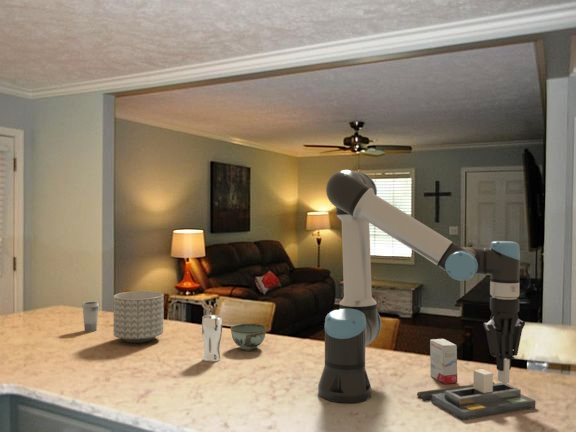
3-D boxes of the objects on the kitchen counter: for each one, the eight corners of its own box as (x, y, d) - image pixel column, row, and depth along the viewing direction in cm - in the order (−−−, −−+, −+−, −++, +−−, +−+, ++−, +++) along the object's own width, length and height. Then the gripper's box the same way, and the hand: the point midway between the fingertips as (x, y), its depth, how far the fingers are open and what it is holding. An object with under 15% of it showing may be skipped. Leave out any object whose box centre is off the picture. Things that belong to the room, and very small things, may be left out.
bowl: (273, 347, 196) (273, 326, 196) (252, 355, 185) (252, 333, 185) (244, 342, 204) (245, 321, 203) (223, 349, 192) (223, 328, 192)
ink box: (458, 383, 158) (458, 345, 158) (443, 384, 157) (443, 346, 156) (443, 374, 166) (443, 338, 166) (429, 375, 165) (429, 338, 165)
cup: (78, 332, 217) (78, 303, 217) (87, 328, 223) (87, 300, 223) (94, 332, 216) (94, 304, 215) (102, 329, 222) (102, 301, 222)
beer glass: (197, 360, 178) (198, 317, 178) (208, 355, 185) (208, 313, 184) (215, 363, 176) (215, 319, 175) (225, 357, 182) (225, 315, 182)
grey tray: (462, 420, 131) (463, 404, 130) (431, 401, 143) (431, 387, 143) (535, 407, 139) (535, 393, 139) (499, 391, 151) (500, 378, 151)
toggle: (482, 399, 138) (483, 374, 138) (472, 394, 142) (472, 370, 142) (493, 398, 140) (493, 373, 139) (482, 393, 143) (483, 368, 143)
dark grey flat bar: (423, 400, 143) (423, 395, 143) (415, 396, 147) (415, 391, 147) (501, 389, 153) (501, 384, 153) (492, 385, 156) (492, 380, 156)
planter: (156, 347, 195) (156, 299, 194) (106, 346, 195) (106, 299, 195) (168, 334, 214) (168, 291, 213) (122, 334, 214) (123, 290, 214)
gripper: (495, 300, 137) (494, 388, 137) (533, 297, 142) (532, 383, 142) (476, 296, 144) (475, 380, 144) (512, 293, 149) (511, 374, 149)
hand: (503, 381), depth 143 cm, fingers closed
